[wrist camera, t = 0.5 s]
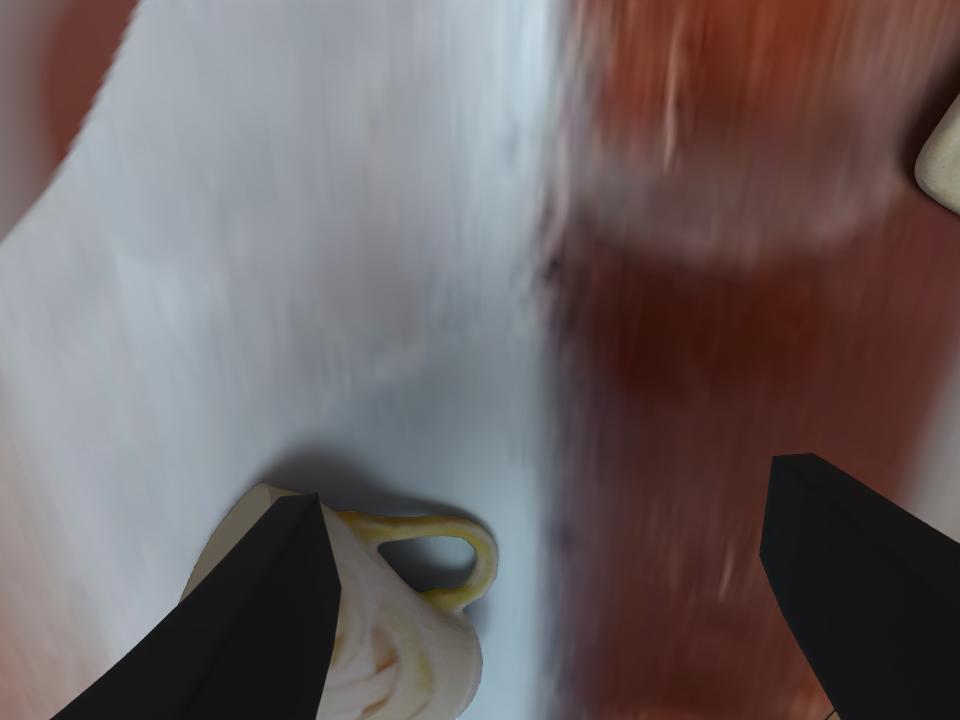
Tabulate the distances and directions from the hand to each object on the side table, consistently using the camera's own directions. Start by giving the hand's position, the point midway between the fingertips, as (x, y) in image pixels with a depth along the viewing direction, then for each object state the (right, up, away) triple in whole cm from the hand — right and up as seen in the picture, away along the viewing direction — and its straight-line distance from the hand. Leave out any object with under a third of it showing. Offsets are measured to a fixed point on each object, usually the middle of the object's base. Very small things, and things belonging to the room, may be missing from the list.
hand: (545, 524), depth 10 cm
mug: (-5, -5, +13) cm, 15 cm away
